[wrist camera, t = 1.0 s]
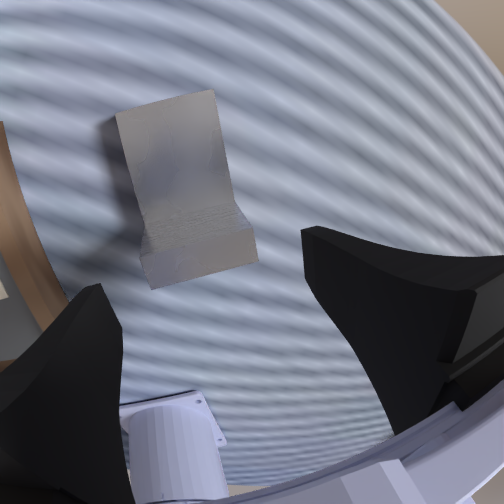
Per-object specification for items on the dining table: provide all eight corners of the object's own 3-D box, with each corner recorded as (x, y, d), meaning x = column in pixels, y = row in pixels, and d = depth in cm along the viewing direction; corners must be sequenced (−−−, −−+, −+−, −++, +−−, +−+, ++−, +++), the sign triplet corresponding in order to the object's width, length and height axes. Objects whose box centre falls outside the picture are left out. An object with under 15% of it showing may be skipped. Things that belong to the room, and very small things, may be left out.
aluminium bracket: (234, 218, 17) (258, 261, 13) (154, 239, 16) (151, 289, 12) (209, 90, 14) (226, 82, 9) (120, 113, 13) (97, 115, 9)
